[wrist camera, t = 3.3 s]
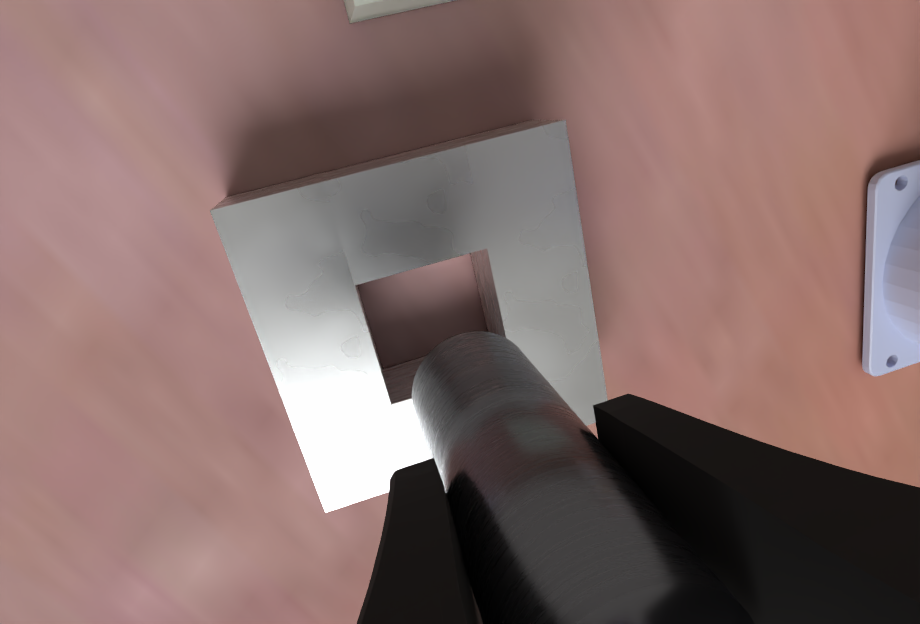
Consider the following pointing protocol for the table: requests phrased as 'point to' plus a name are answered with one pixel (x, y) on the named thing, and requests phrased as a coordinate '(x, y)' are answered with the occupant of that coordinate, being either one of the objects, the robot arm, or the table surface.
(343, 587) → the table surface
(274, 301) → the block
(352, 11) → the tray
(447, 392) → the pin
